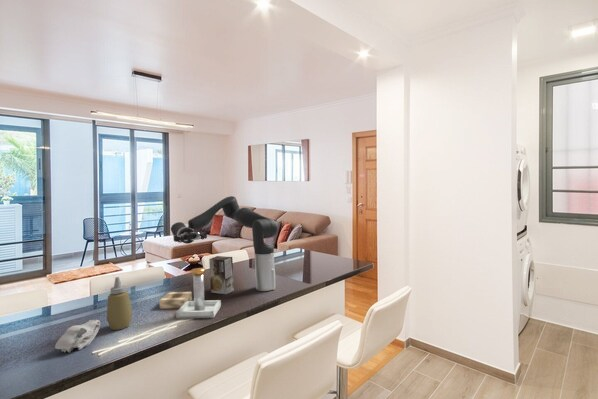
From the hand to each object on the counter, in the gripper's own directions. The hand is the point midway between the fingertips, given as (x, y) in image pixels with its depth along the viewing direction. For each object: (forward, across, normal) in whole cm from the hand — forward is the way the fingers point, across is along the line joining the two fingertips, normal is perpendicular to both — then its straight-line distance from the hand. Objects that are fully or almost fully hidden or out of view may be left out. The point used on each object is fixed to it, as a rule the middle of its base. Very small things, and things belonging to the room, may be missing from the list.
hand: (193, 238), depth 146 cm
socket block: (+2, +9, -27) cm, 28 cm away
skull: (+24, +42, -28) cm, 56 cm away
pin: (+17, +3, -27) cm, 32 cm away
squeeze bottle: (+15, +30, -28) cm, 43 cm away
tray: (+17, +3, -28) cm, 32 cm away
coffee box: (-3, -13, -27) cm, 30 cm away
